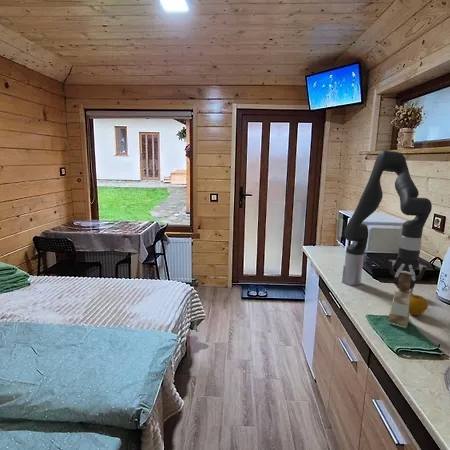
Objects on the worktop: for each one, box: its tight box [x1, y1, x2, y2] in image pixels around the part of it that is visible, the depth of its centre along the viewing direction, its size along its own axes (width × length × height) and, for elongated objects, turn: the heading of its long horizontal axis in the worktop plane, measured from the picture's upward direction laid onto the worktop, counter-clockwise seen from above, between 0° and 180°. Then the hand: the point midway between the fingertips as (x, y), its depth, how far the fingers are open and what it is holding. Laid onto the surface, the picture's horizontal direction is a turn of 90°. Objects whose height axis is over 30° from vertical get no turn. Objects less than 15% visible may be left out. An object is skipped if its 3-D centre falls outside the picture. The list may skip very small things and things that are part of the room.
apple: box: [408, 294, 429, 316], centre depth 145 cm, size 9×9×9 cm
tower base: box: [387, 306, 410, 328], centre depth 137 cm, size 7×7×5 cm
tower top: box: [392, 286, 411, 305], centre depth 135 cm, size 6×6×5 cm
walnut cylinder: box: [396, 272, 412, 290], centre depth 134 cm, size 5×5×6 cm
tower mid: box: [390, 297, 409, 317], centre depth 136 cm, size 6×6×5 cm
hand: (403, 286), depth 134 cm, fingers closed on walnut cylinder, 4 cm apart
